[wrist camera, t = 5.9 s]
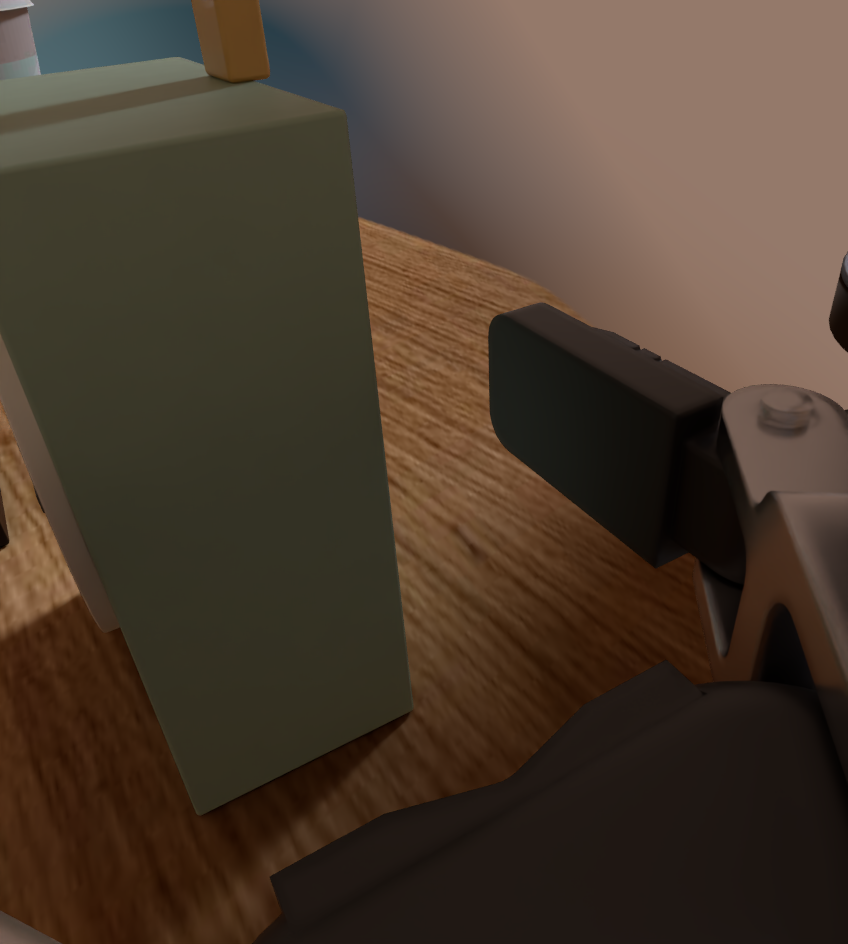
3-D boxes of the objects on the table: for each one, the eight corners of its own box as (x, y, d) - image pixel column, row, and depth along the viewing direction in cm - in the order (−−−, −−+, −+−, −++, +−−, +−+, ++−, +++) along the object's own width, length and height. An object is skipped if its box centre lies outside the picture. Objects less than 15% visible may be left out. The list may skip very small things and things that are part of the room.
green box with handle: (287, 509, 19) (102, -377, 11) (425, 706, 14) (283, -703, 5) (96, 579, 18) (-311, -406, 9) (172, 831, 12) (-613, -922, 4)
